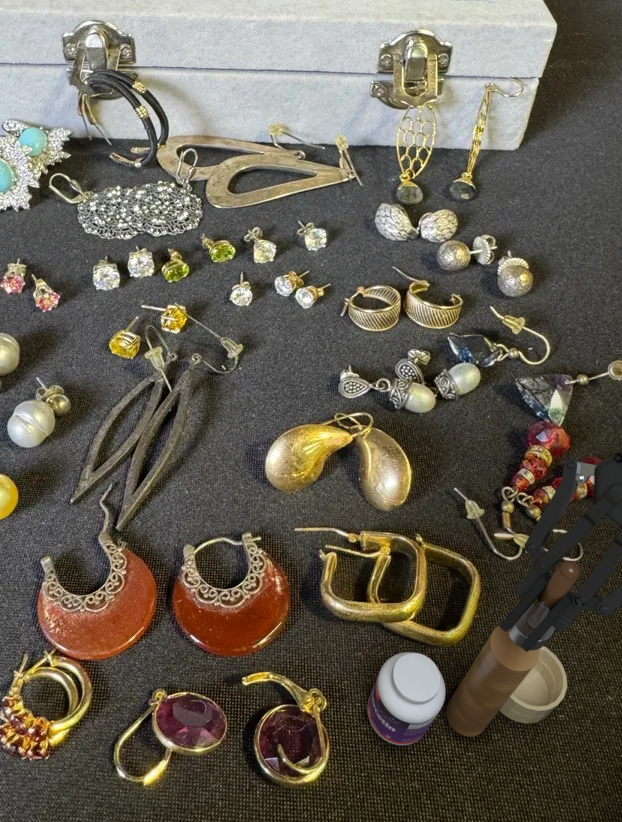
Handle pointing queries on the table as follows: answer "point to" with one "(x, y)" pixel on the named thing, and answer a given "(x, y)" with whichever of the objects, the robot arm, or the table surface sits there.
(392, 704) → the pill bottle
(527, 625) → the wooden handled stamp
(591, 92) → the table surface
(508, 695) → the wooden dowel cylinder
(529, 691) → the bowl
